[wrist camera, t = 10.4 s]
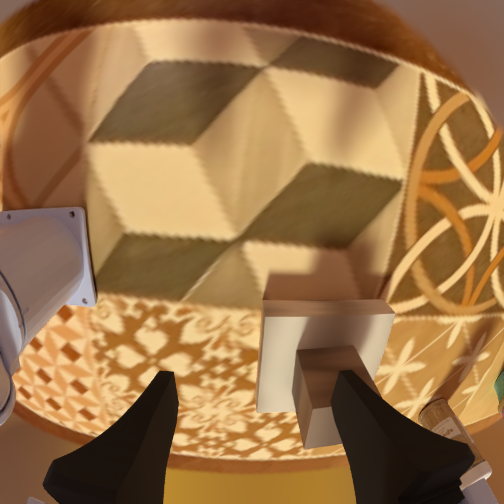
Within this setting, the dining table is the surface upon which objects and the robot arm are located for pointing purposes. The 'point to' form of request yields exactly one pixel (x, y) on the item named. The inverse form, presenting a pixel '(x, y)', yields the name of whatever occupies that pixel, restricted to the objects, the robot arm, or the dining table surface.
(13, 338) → the robot arm
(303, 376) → the walnut block
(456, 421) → the sprinkles bottle
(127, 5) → the dining table surface
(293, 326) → the birch block
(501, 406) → the cupcake
